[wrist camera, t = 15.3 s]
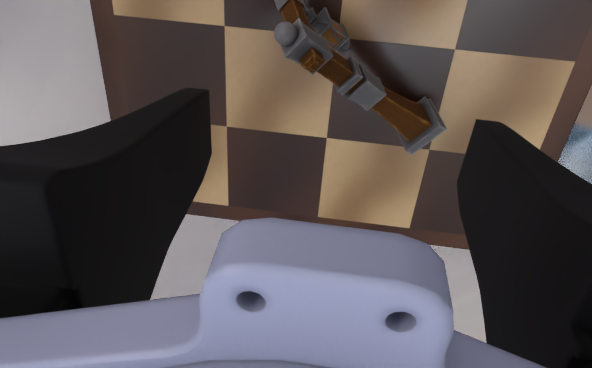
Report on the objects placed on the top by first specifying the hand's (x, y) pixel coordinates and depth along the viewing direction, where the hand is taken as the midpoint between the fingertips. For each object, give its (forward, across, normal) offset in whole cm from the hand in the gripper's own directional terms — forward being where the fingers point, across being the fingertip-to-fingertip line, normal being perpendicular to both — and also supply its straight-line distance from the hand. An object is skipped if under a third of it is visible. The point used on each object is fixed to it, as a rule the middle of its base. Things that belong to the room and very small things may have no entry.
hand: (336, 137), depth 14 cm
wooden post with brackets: (+7, 0, +1) cm, 7 cm away
